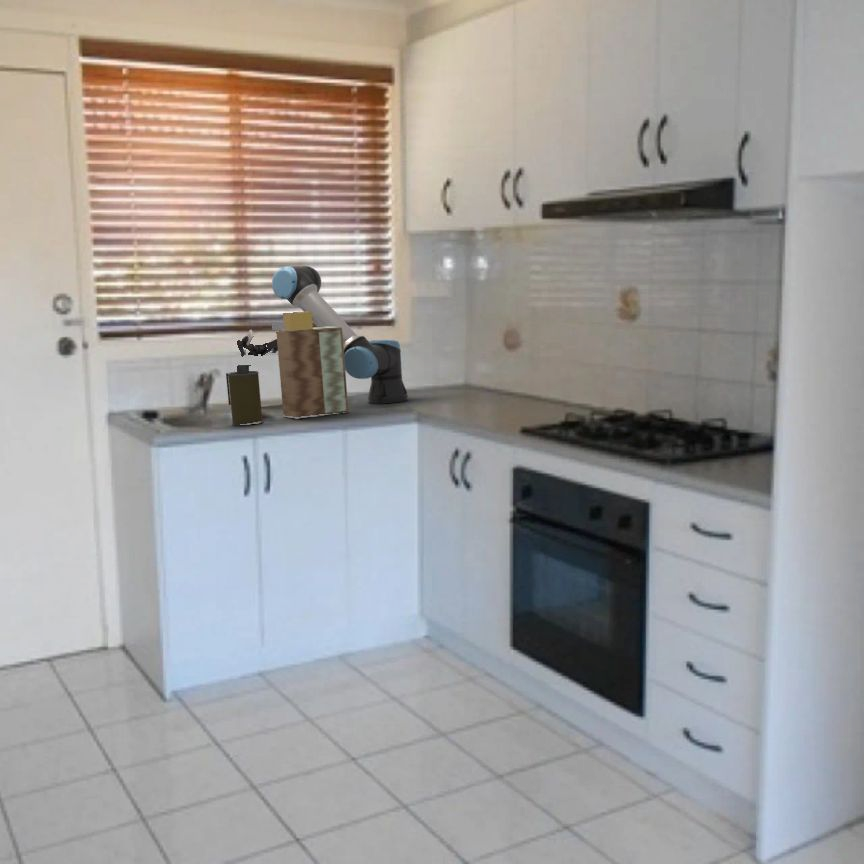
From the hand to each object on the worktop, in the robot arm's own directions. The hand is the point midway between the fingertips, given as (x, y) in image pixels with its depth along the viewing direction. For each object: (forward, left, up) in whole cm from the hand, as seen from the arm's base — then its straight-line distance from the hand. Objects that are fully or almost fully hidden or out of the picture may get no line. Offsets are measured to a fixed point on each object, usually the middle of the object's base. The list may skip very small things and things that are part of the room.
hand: (269, 331), depth 371 cm
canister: (+20, +23, -30) cm, 43 cm away
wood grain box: (-5, +25, -29) cm, 39 cm away
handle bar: (0, +18, +1) cm, 18 cm away
